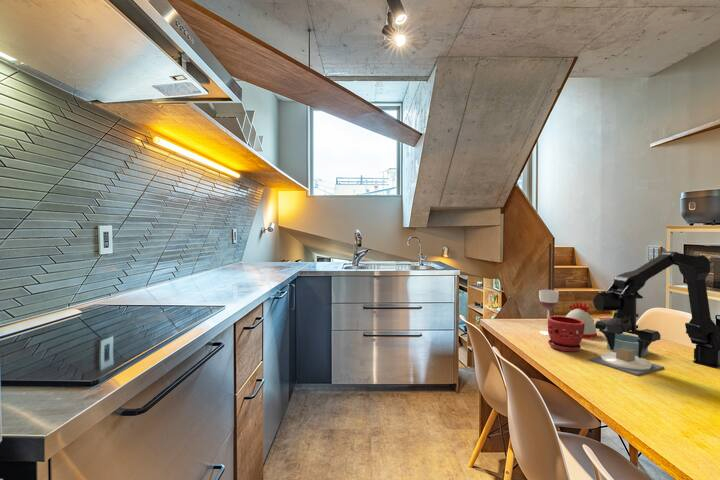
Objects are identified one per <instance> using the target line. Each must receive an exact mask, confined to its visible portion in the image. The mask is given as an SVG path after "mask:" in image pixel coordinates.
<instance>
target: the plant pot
mask: <svg viewBox="0 0 720 480" xmlns="http://www.w3.org/2000/svg"><path fill="white" fill-rule="evenodd" d="M547 318H548V334H549V335H548V336H549V340H548V341H547V343H548V345H549V346H550V347H551V348H553V349H556V350H560V351H562V352H563V351H565V352H577V351H579V350H580V349H581V348H582V347H581V344H580V343H581V342H582V340H583V339H584V338H583V334H584V326H585V323H584V322H583V321H581V320H578V319H575V318H570V317H566V316H560V315H549V317H548V316H547ZM563 330H565V331H563ZM576 331H578V333H576Z"/></svg>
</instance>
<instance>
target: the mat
mask: <svg viewBox="0 0 720 480" xmlns="http://www.w3.org/2000/svg"><path fill="white" fill-rule="evenodd" d="M588 361H590V362H594V363H597V364H600V365H603V366H605V367H608V368H612V369H615V370H618V371H621V372H624V373H626V374H629V375H633V376H636V377H637V376H641V375H645V374H650V373H653V372H657V371H660V370H664V369H665V366H662V365H660V364H656V363H654V362H653V363H652V362H651V363H652V368H651V369H649V370H631V369H625V368H620V367H616V366H613V365H610V364H607V363H605V362H603V361H602V360H601V355H599V356H594V357H590V358H588Z"/></svg>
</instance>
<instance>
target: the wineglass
mask: <svg viewBox="0 0 720 480" xmlns="http://www.w3.org/2000/svg"><path fill="white" fill-rule="evenodd" d="M559 295H560V293H559V290H554V289H539V291H538V297H539V303H540V304H541V307H543V308H544V309H546V310H547V319H546V321H547V323H546V325H547V330H546V331H545V330H542V331H539V333H540V335H544V336H549V334H548V317H550V310H552V309H554V308H556V307H557V305H558V302H559V297H560V296H559Z"/></svg>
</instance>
